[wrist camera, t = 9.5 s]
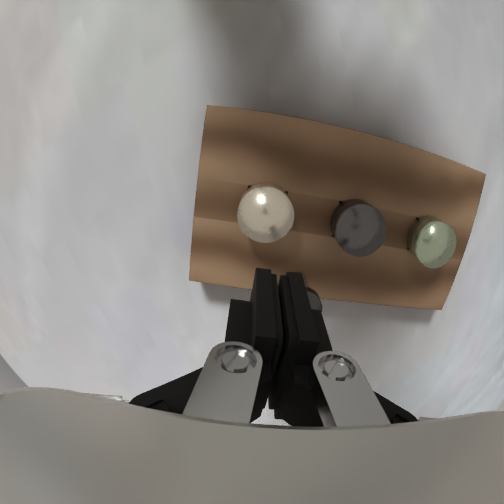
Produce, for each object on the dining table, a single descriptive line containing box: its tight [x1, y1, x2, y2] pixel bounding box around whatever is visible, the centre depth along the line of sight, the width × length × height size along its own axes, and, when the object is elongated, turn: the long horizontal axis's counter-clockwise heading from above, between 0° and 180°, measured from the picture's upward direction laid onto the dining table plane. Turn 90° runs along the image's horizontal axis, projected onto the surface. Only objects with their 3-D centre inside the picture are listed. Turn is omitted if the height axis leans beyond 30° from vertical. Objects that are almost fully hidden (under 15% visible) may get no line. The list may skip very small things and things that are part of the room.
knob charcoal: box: [330, 199, 387, 257], centre depth 27 cm, size 4×4×5 cm
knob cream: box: [237, 183, 294, 243], centre depth 26 cm, size 4×4×5 cm
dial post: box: [294, 272, 322, 312], centre depth 27 cm, size 3×3×5 cm
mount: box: [189, 105, 486, 310], centre depth 28 cm, size 16×28×3 cm, turn 81°
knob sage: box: [407, 216, 456, 269], centre depth 27 cm, size 4×4×5 cm
